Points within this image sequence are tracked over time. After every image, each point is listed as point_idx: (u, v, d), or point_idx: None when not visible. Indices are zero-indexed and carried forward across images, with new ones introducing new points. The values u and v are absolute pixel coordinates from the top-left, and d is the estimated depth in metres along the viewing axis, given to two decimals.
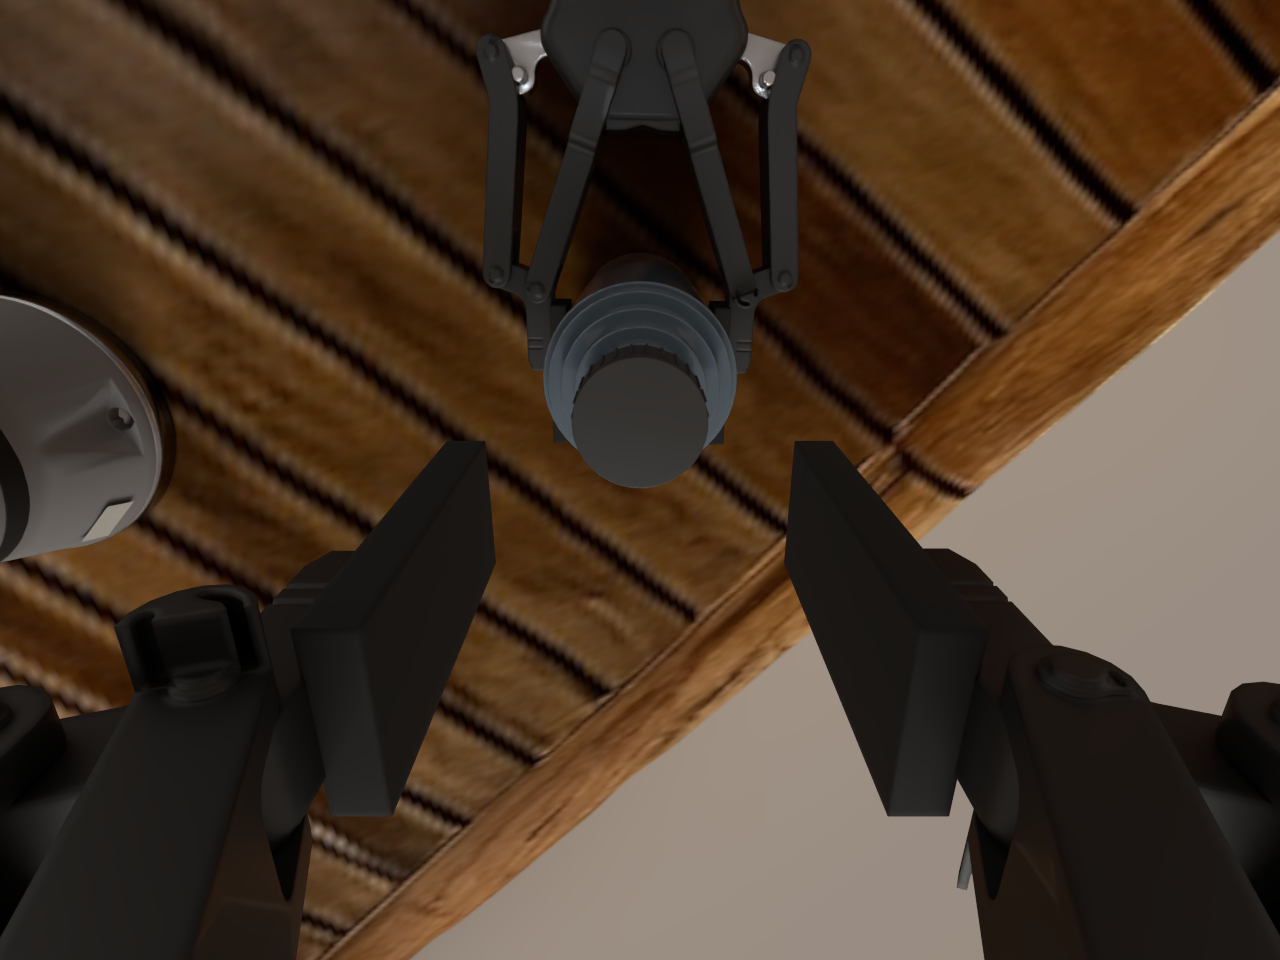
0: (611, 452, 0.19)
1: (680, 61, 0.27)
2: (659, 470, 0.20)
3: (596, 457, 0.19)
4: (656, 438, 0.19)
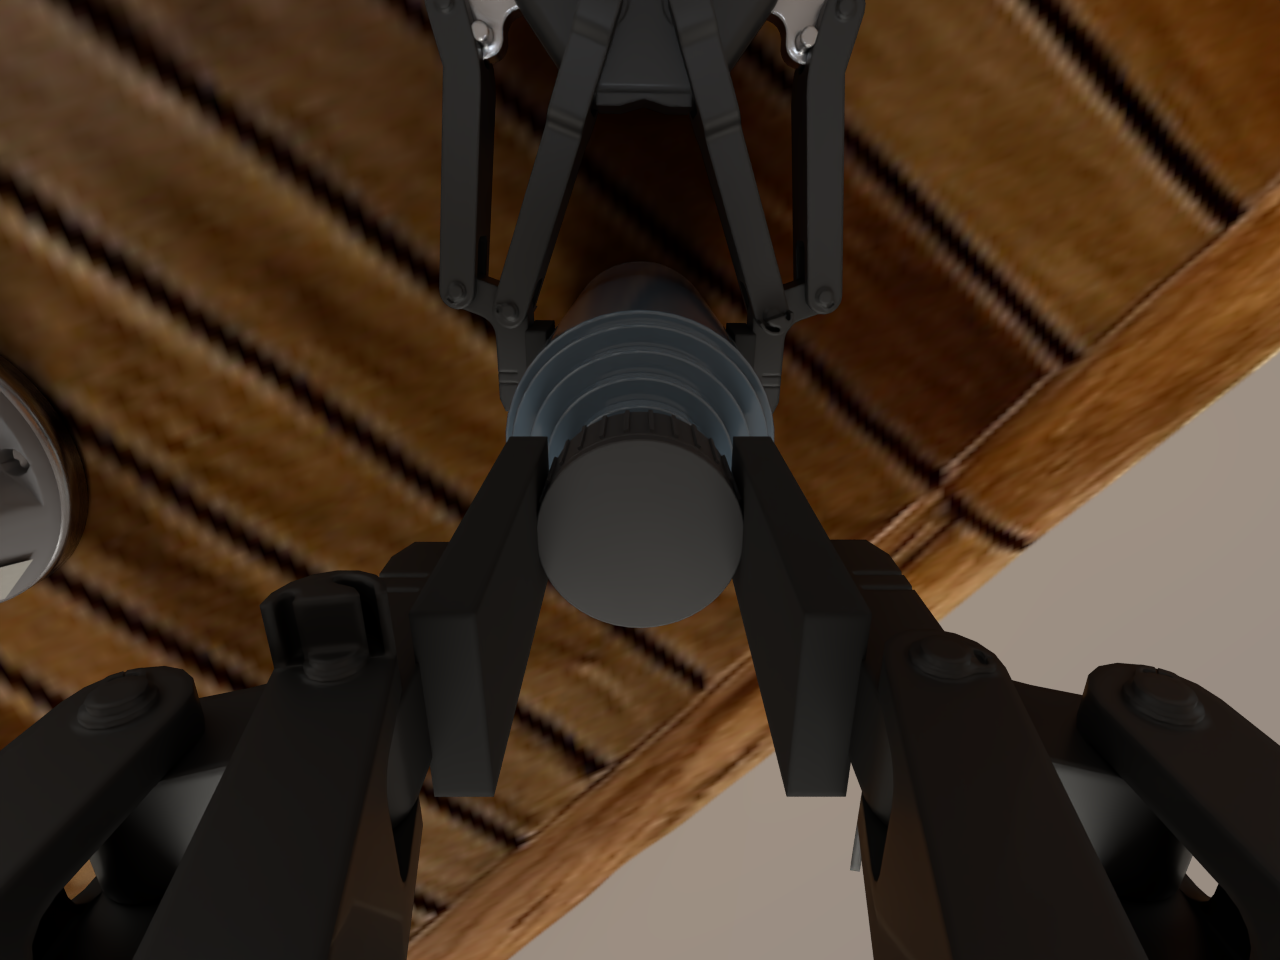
0: (596, 578, 0.13)
1: (693, 12, 0.20)
2: (669, 603, 0.13)
3: (574, 585, 0.13)
4: (665, 558, 0.13)
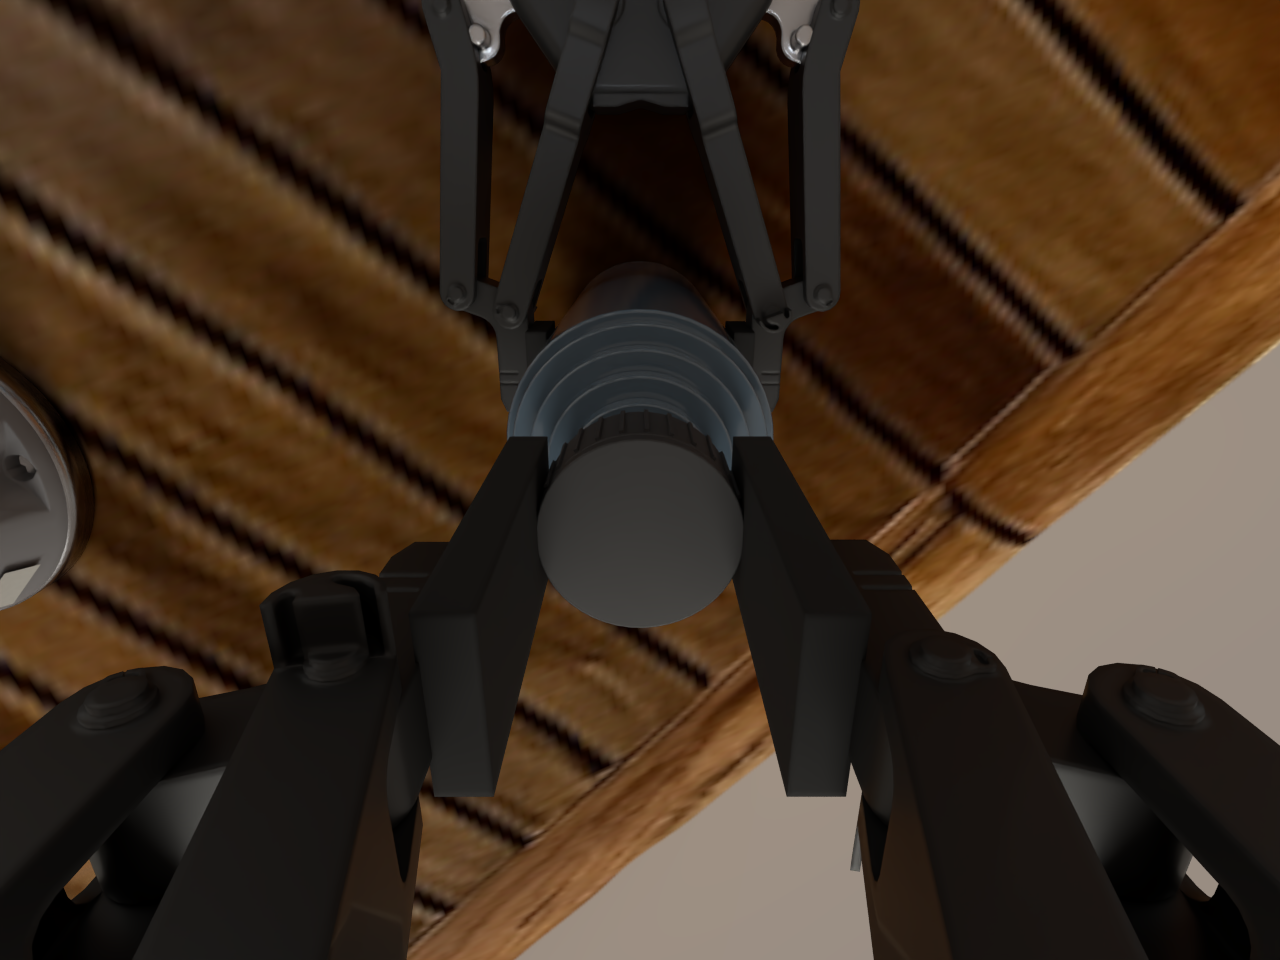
0: (703, 538, 0.12)
1: (688, 13, 0.21)
2: (671, 469, 0.12)
3: (725, 547, 0.13)
4: (636, 508, 0.12)
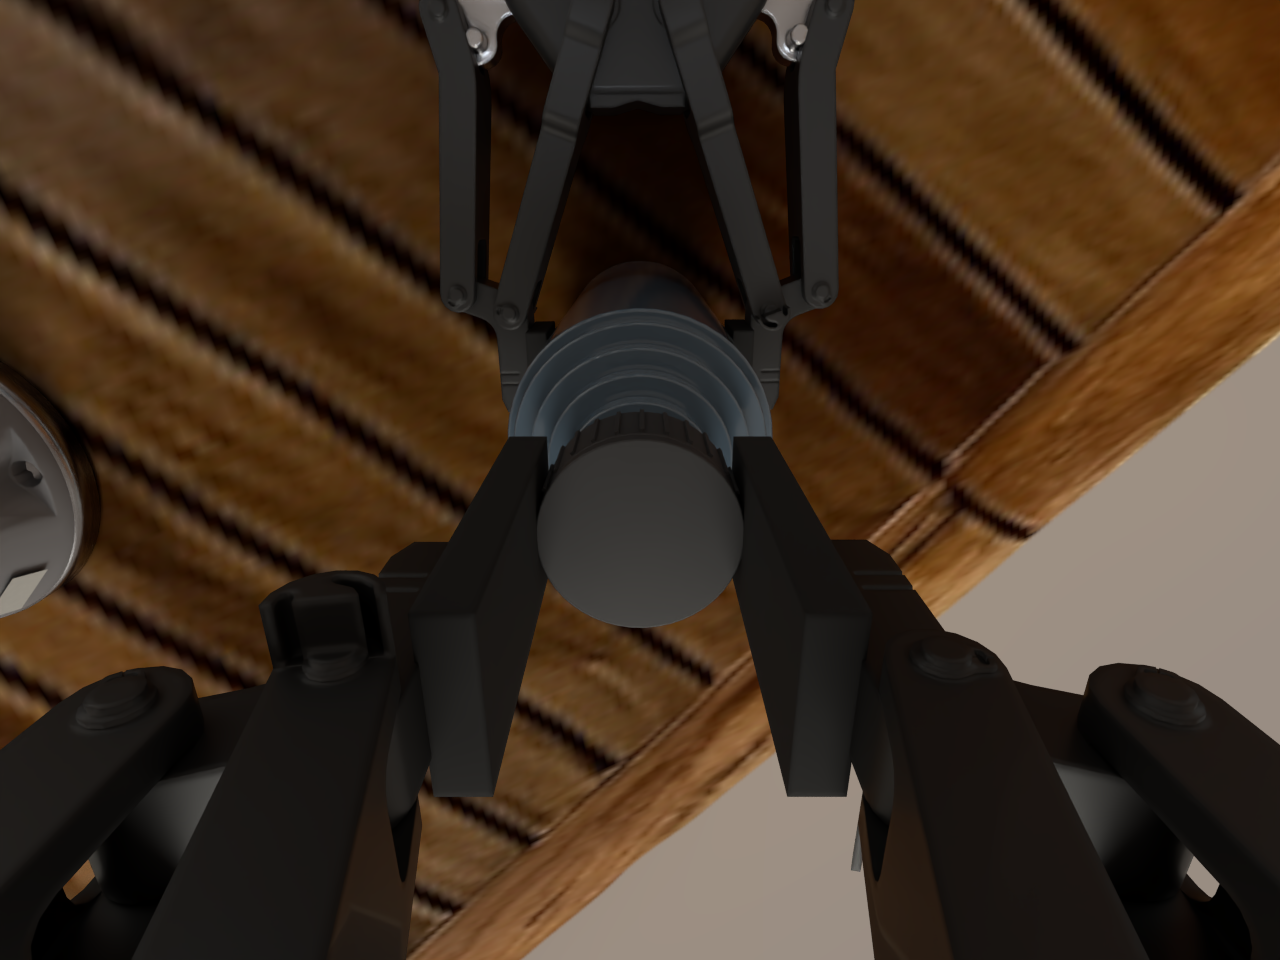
0: (593, 499, 0.12)
1: (683, 14, 0.21)
2: (568, 568, 0.13)
3: (583, 477, 0.12)
4: (619, 562, 0.13)
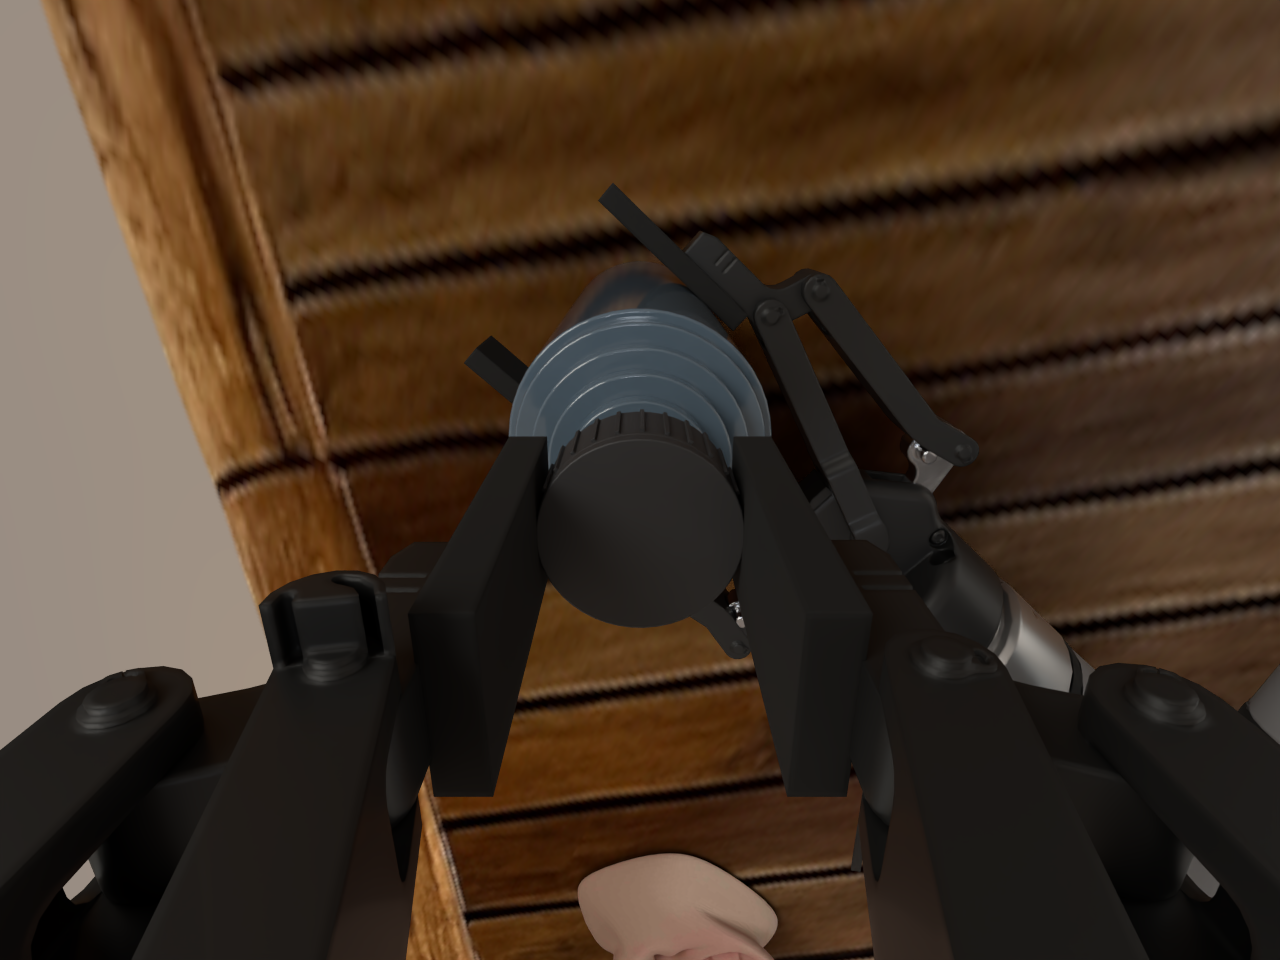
0: (593, 499, 0.12)
1: None
2: (568, 567, 0.13)
3: (583, 476, 0.12)
4: (619, 562, 0.13)
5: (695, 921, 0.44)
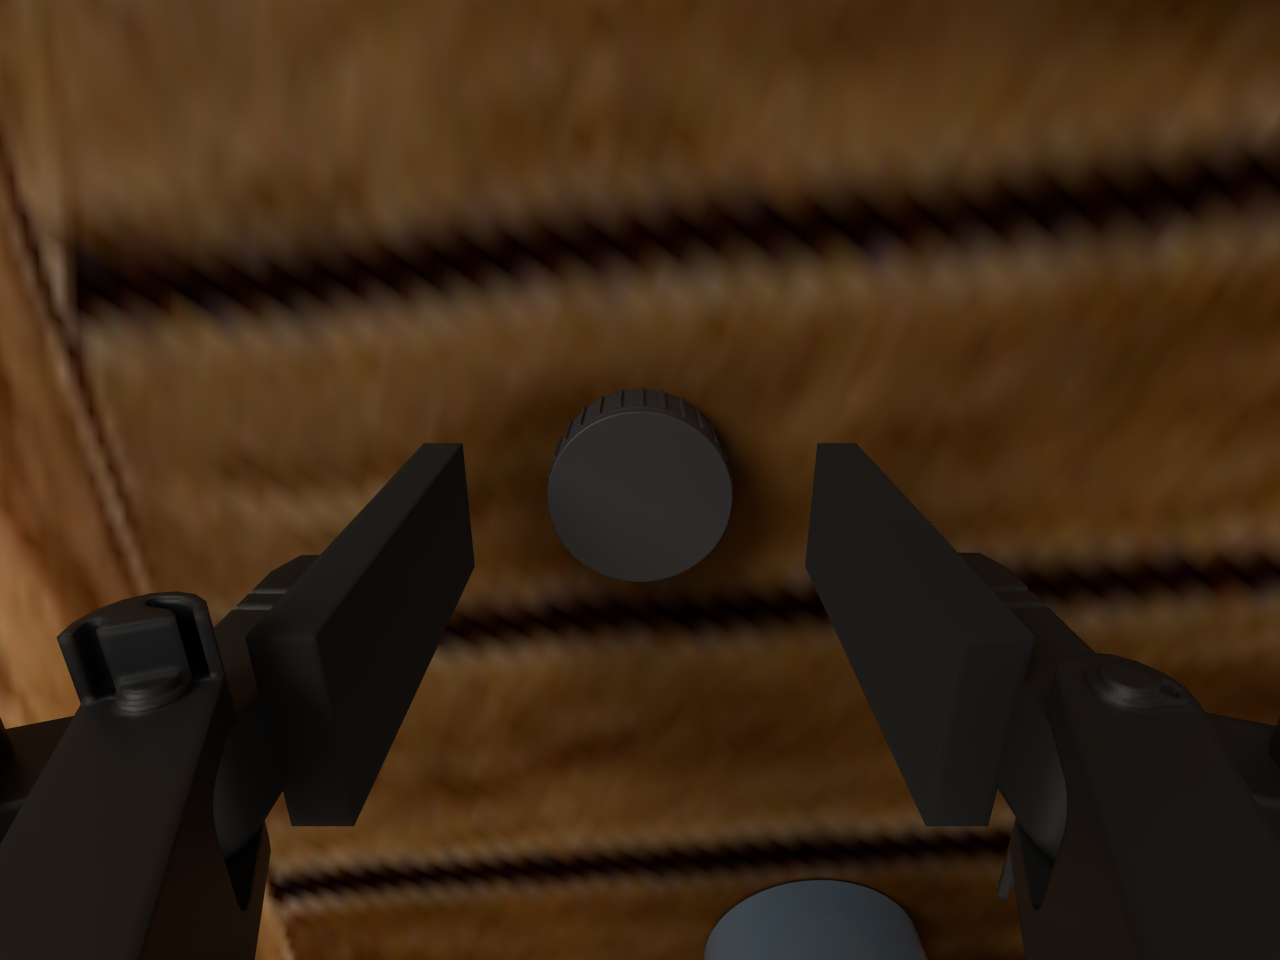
0: (598, 465, 0.14)
1: None
2: (576, 527, 0.14)
3: (590, 445, 0.14)
4: (622, 522, 0.14)
5: None
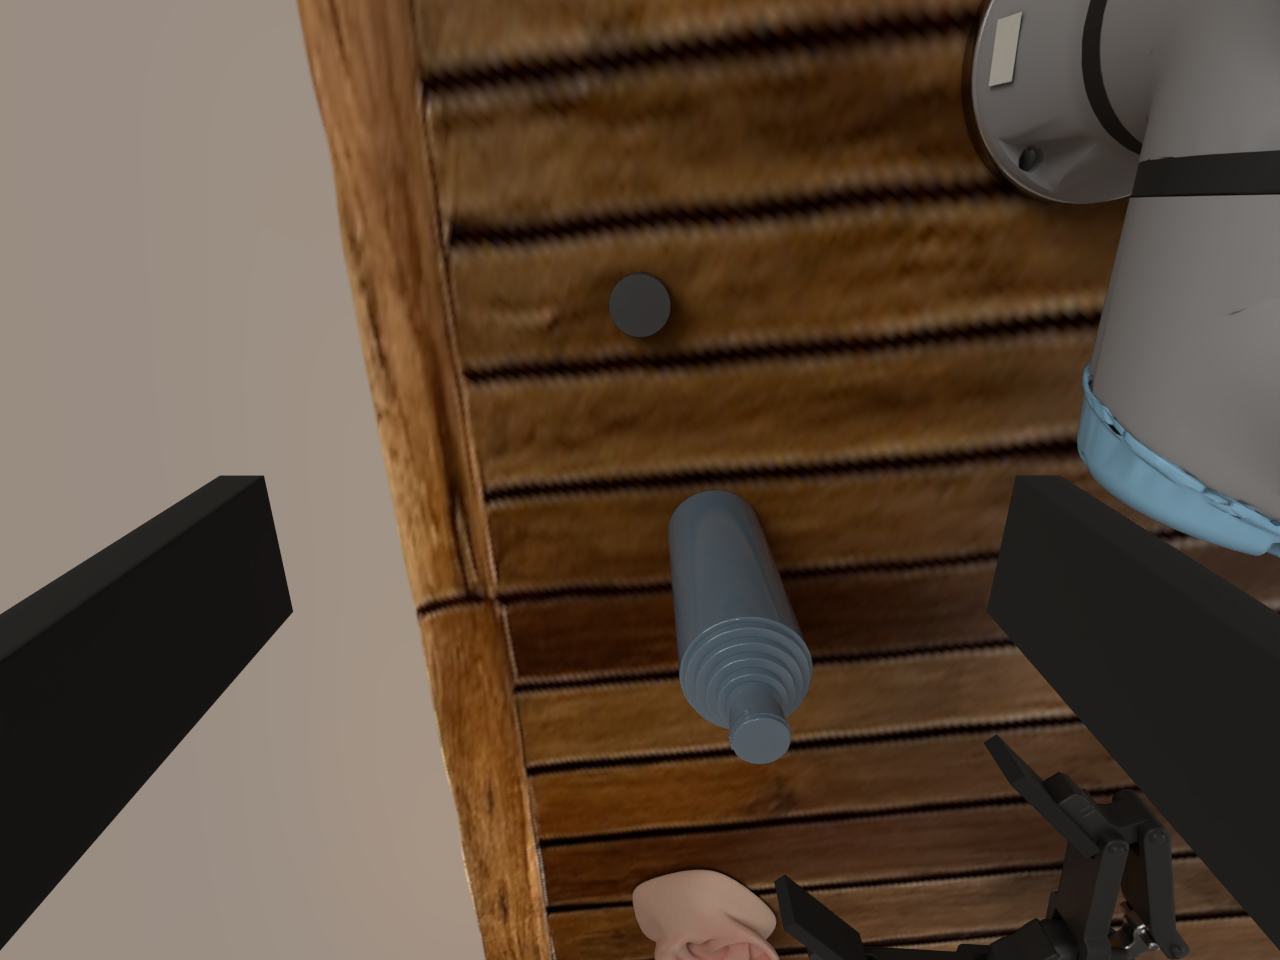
0: (626, 293, 0.42)
1: None
2: (618, 316, 0.43)
3: (623, 286, 0.42)
4: (634, 314, 0.43)
5: (719, 919, 0.62)
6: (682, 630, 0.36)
